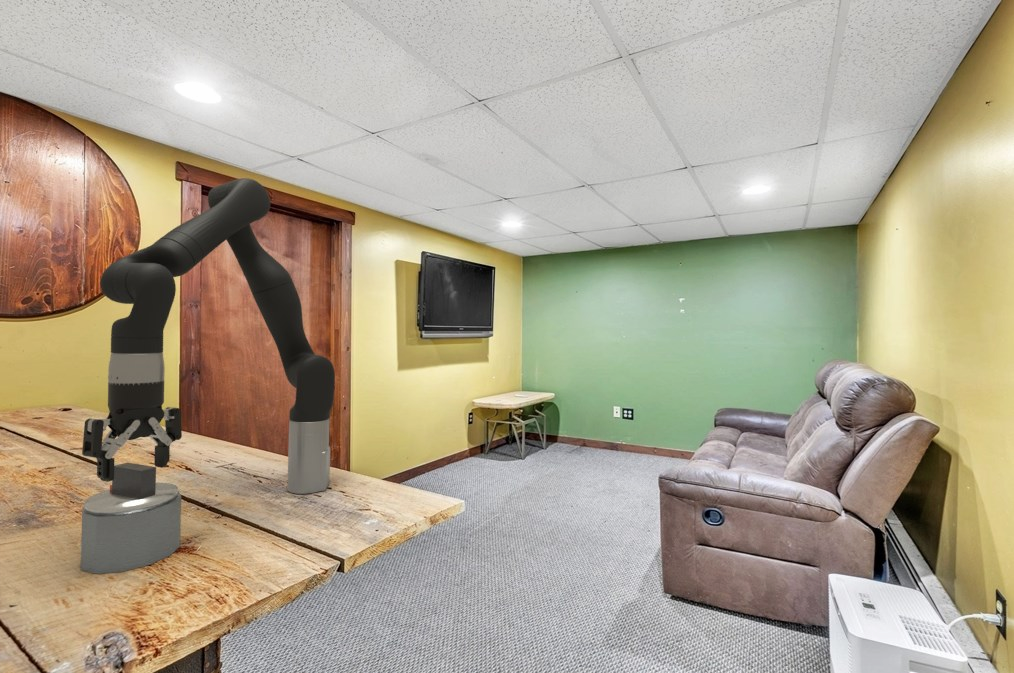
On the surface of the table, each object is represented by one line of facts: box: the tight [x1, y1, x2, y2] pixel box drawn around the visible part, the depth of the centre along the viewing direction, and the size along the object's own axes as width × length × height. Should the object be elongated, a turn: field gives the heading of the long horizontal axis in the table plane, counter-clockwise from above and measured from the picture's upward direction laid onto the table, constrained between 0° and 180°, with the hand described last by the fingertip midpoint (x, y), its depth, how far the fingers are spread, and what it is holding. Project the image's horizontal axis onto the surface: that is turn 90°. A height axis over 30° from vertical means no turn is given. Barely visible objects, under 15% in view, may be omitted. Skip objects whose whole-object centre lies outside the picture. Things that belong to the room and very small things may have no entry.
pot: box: [80, 490, 182, 575], centre depth 79 cm, size 13×13×9 cm
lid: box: [84, 462, 179, 516], centre depth 79 cm, size 12×12×6 cm
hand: (135, 473), depth 79 cm, fingers open, 8 cm apart
